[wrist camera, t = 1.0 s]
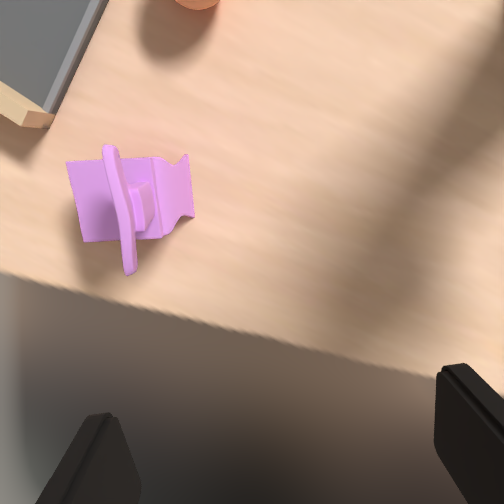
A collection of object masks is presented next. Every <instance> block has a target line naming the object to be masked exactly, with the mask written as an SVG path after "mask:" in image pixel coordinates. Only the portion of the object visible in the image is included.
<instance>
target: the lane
mask: <svg viewBox="0 0 504 504" xmlns="http://www.w3.org/2000/svg"><path fill="white" fill-rule="evenodd" d="M108 1H109V0H0V114H2V115H4V116H5V117H7V118H8V119H10V120H12V121H13V122H15V123H16V124H18V125H19V126H21V127H34V128H46V129H49V128H50V126H51V124H52V122H53V119H54V117H55V115H56V113H57V111H58V109H59V106H60V104H61V102H62V100H63V98H64V96H65V93H66V91H67V89H68V87H69V85H70V83H71V81H72V78H73V76H74V74H75V72H76V70H77V68H78V65H79V63H80V61H81V59H82V57H83V55H84V52H85V50H86V48H87V46H88V44H89V42H90V40H91V37H92V35H93V33H94V31H95V29H96V27H97V24H98V22H99V20H100V18H101V16H102V14H103V11H104V9H105V7H106V5H107V3H108Z"/></svg>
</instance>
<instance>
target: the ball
mask: <svg viewBox="0 0 504 504" xmlns="http://www.w3.org/2000/svg"><path fill="white" fill-rule="evenodd" d="M175 1H176V2H177V3H179V4H180V5H182V6H184V7H186V8H189V9H194V10H201V9H206V8H209V7H212V6H213V5H215V4H216V3H218V2H219V1H220V0H175Z"/></svg>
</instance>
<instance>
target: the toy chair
mask: <svg viewBox="0 0 504 504" xmlns="http://www.w3.org/2000/svg"><path fill="white" fill-rule="evenodd" d="M102 155H103V159H102V160H85V161H68V162H66V166H67V170H68V175H69V179H70V183H71V187H72V190H73V194H74V198H75V203H76V207H77V212H78V217H79V223H80V228H81V232H82V237H83V241H84V242H99V241H113V240H120V241H121V252H122V261H123V268H124V272H125V275H126V276H129V275H131V274H133V273H135V272H136V270H137V266H138V260H137V249H136V239H158V238H162V237H163V236H164V235H167V234H169V233H170V232H171V231H172V230H173V228H174V226H175V225H176V223H177V221H178V219H179V218H180V217H181V216H188V217H191V218H195V213H194V203H193V194H192V185H191V175H190V166H189V157H188V154H185V155H184V156H183V157H182V158H181V160H180V161H179V162H178V163H177V164H175V165H171V164H169V163H168V162H167V161H165V160H164V159H163V158H160V157H145V158H126V159H120V155H119V151H118V149H117V147H116V146H113V145H103V148H102Z"/></svg>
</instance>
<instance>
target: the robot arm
mask: <svg viewBox="0 0 504 504" xmlns="http://www.w3.org/2000/svg"><path fill="white" fill-rule="evenodd" d="M434 425H435V426H434V446H435V449H436V452H437V454H438V456H439V457H440V459H441V461H442V463H443V464H444V466H445V467H446V469H447V471H448V472H449V474H450V475H451V477H452V478H453V480H454V482H455V483H456V485H457V487H458V488H459V490H460V491H461V493H462V495H463V496H464V498H465V499H466V501H467V503H468V504H504V399H503V398H502V397H501V396H500V395H499V394H498V393H496V392H495V391H494V390H493V389H492V388H491V387H490V386H489V385H488V384H487V383H486V382H485V381H484V380H483V379H482V378H481V377H480V376H479V375H478V374H477V373H476V372H475V371H474V370H473V369H472V368H471V367H470V366H469V365H467V364H465V363H461V364H454V365H447V366H443V367H442V370H441V372H438V373H437V376H436V400H435V424H434ZM140 494H141V481H140V478H139V475H138V472H137V469H136V467H135V464H134V461H133V458H132V456H131V453H130V450H129V447H128V445H127V442H126V440H125V437H124V434H123V431H122V429H121V426H120V423H119V420H118V418H117V417H113V416H112V414H110V413H101V414H94V415H89V416H88V417H87V418H86V419H85V421H84V422H83V424H82V426H81V427H80V429H79V431H78V432H77V434H76V436H75V438H74V439H73V441H72V443H71V444H70V446H69V448H68V450H67V451H66V453H65V455H64V457H63V458H62V460H61V462H60V463H59V465H58V467H57V469H56V470H55V472H54V474H53V476H52V477H51V479H50V480H49V481H48V483H47V485H46V487H45V488H44V490H43V492H42V493H41V495H40V497H39V498H38V500H37V502H36V503H35V504H138V501H139V498H140Z"/></svg>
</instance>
